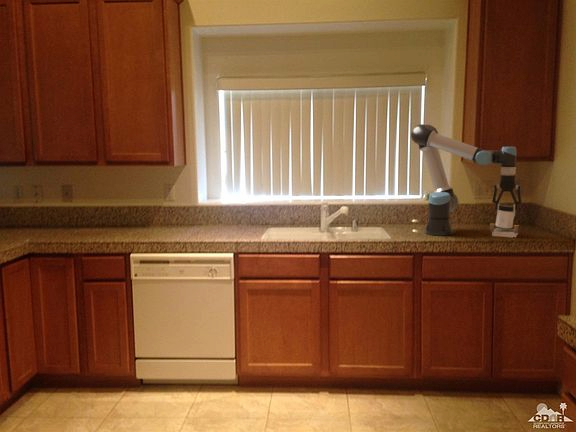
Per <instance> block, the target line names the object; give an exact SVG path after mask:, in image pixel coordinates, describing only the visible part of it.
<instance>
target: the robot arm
mask: <svg viewBox="0 0 576 432" xmlns="http://www.w3.org/2000/svg"><path fill="white" fill-rule="evenodd" d="M437 129H438V128H436V127H435V126H433V125H431V124H417V125H416V126H414V127H413V128H412V130H411V132H410V137H411V138H410V139H411V141H413V143H415V144H416V145H417V146H418V148H419V150H420V151H421V152H423V156H424V159H425V162H426V165H427V166H426V167H427V170H428V172H429V176H430V179H431V183H432V185H433V192H431V193H430V194H429V196H428V219H427V220H428V221H427V223H426V226H425V229H424V234H426V235H431V236H450V235H453V228H452V225H451V222H450V220H451V219H450V217H451V216H450V215H451V213H452V212H453V211H454V210H456V209H457V207H458V204H459V198H458V196H457V195H456V194H455V191H454V189H453V187H452V186H450V185H449V181H448V178H447V174H446V171H445V167H444V165H443V162H442V158H441V155H440V151H439V150H441V151H445V152H447V153H450V154H453V155H455V156H458V157H460V158H464V159H467V160H469V161H471V162H475V163H477V164H479V165H481V166H486V165H500V181H499V182H500V183H499V184H495V185H493V188H494V189H493V190H494V191H493V196H492V203H494V204H495V210H498V211H499V205H501V203H500V201H501V199H502V196H503V195H504V193H505V192H506V193H507V192H508V193H510V195H511V197H512V199H513V202H514V204H513V205H512V206H513V207H514V210H513V216H514V217H516V211H518V207H519V205H520V204H522V194H521V193H522V192H521V188H522V185H519V184H516V169H517V155H518V154H517V147H516V146H502V148H501V149H500V150H487V149H486V150H485V149H483V148H479V147H477V146H473V145H471V144H468V143H466V142H462V141H459V140H456V139H455V138H454V139H453V138H451V137H448V136H445V135H443V134H439V131H438V130H437ZM499 188H500V189H501V190H500V193H499V195H498V190H499ZM515 188H516V190H517V197H516V195H515V192H514V189H515ZM497 195H498V196H497ZM498 211H496V217H497V216H498Z"/></svg>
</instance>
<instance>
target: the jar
mask: <svg viewBox="0 0 576 432" xmlns="http://www.w3.org/2000/svg"><path fill="white" fill-rule="evenodd" d="M513 206H514V205H509V204H500V205H499V211H498V209H496V210H497V211H498V216H497V215H496V219H495V223H494V224H495V225H494V226H496V228H499V229H505V228H509V229H513V227H514V218H515V216H513V210H514V207H513ZM497 211H496V212H497Z"/></svg>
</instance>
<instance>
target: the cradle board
mask: <svg viewBox="0 0 576 432" xmlns="http://www.w3.org/2000/svg"><path fill="white" fill-rule="evenodd" d="M495 224H496V223H490V224H489V225H490V226H489V227H490V229H489V232H491V236H492V237H501V238H502V237H504V238H513V237H515V238H517V236H518V235H519V226H520V225H519V224H517V225H516V224H513V227H514V228H499V227H496V228H495V226H496V225H495Z"/></svg>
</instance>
